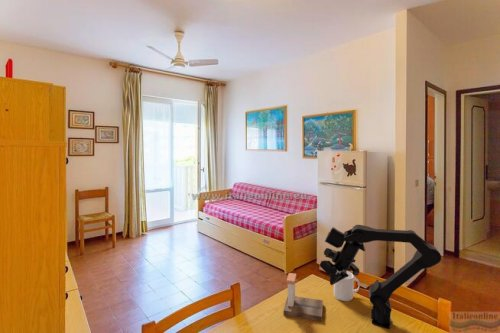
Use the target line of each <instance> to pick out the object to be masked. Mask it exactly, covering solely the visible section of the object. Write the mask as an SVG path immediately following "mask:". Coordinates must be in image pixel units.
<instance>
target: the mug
mask: <svg viewBox="0 0 500 333" xmlns="http://www.w3.org/2000/svg"><path fill="white" fill-rule="evenodd" d="M346 272H347V274H348V277H346V278H344V279H342V280H340V281H339V282H337V283H335V284H334V285H333V295H334V297H335V299H336V300H339V301H342V302H349V301H353V298H354V294H356V293H357V292H358V291H359V289H360V286H361V285H360V284H361V283H360V280H359V279H358V278H357V277H355V276H354V275H353V272H351V271H346ZM355 282H357V284H358V287H357V288H355V289H354V287H355V286H354V283H355Z"/></svg>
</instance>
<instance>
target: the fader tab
mask: <svg viewBox="0 0 500 333" xmlns="http://www.w3.org/2000/svg"><path fill="white" fill-rule="evenodd" d="M296 280H297V273H292V272H289V273H288V274H287V278H286V285H287V296H288V306H291V307H293V306H294V301H295V296H296Z"/></svg>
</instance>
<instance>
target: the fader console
mask: <svg viewBox="0 0 500 333" xmlns="http://www.w3.org/2000/svg"><path fill="white" fill-rule="evenodd" d="M323 304H324V301H323V300H322V299H317V298H309V297H302V296H296V295H295V301H294V306H293V307H291V306H288V295H287V297H286V300H285V304H284V307H283V316H288V317H293V318H300V319H306V320H309V321H311V320H312V321H316V322H318V321H319V322H322V321H323Z"/></svg>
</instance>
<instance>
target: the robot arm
mask: <svg viewBox="0 0 500 333" xmlns="http://www.w3.org/2000/svg"><path fill="white" fill-rule="evenodd" d="M375 241H376V242H377V241H378V242H379V241H380V242H396V243H407V244H408V243H409V244H411V245H412V246H413V247H414V249H415V253H414V254H413V255H412V256H413V257H412V258H411V259H410V260H409V261H408V262H406V263H405V264H404V265H403V266H402V267H400V268H399V269H398V270H397V271H395V272H394V273H393V274H391V275H390V276H389V277H388V278H386V279H385V280H384V281H381V282H380V281H379V279H376V280H375V281H374V282H372V284H370V287H369V288H368V296H369V301H370V304H371V305H372V307H371V310H370V311H371V312H370V313H371V314H370V319H371V324H372V325H376V326H379V327H382V328H386V329H391V324H392V318H391V317H392V311H393V310H392V307H391V301H390V298H391V296H392V295H393V293H394V292H396V290H398V289H399V288H400V287H401V286H403V285H404V284H406V283H407V282H408V281H409V280H410V279H411V278H413V277H415V276H416V275H417V274H418V273H419V272H420V271H422V270H425V269H429V268H432V267H435V266H436V265H438V264H439V263H441V261H442V255H441V253H440V251H439V250H438V249H437V248H436V246H435V245H433V244H432V243H428V242H427V241H426V240H424V239H423V238H422V237H421V236H420V235H418V234H417V233H416V232H415V231H414V230H413V229H412V230H411V229H409V230H405V229H404V230H401V229H383V228H374V227H370V226H367V225H362V224H355V225H353V226H352V228H351V229H348V230H346V231H344V232H342V231H340V230H339V229H337V228H335V227H334V226H333V227H331V229H330V231H328V234H327V235H326V237H325V240H324V242H325V243H327V244H328V245H330V246H333V247H334V248H336V249H340V248H341V250H337V251H336V250H334V249H331V248H329V247H326V248H325V249H324V251H323V255H324V256H325V257H326V258H328V259H331V260H321V261H320V263H319V267H320V268H321V269H322V270H323V271H324V272H325V273H326V274H327V275H328V276H330V279H329V284H330V286H334V284H335V283H337V282H339V281H340V280H342V279H344V278H346V277H348V274H347V272H346V271H348V272H352V274H353V275H354V277H355V276H358V275H359V274H360V268H359V267H358V266H356V264H354V263H356V259H355V258H356V256H357V254H358V253H359V250H361V251H362V252H365V251H366V246H365V245H364V244H365V243H371V242H375ZM331 261H332V262H331Z"/></svg>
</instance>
